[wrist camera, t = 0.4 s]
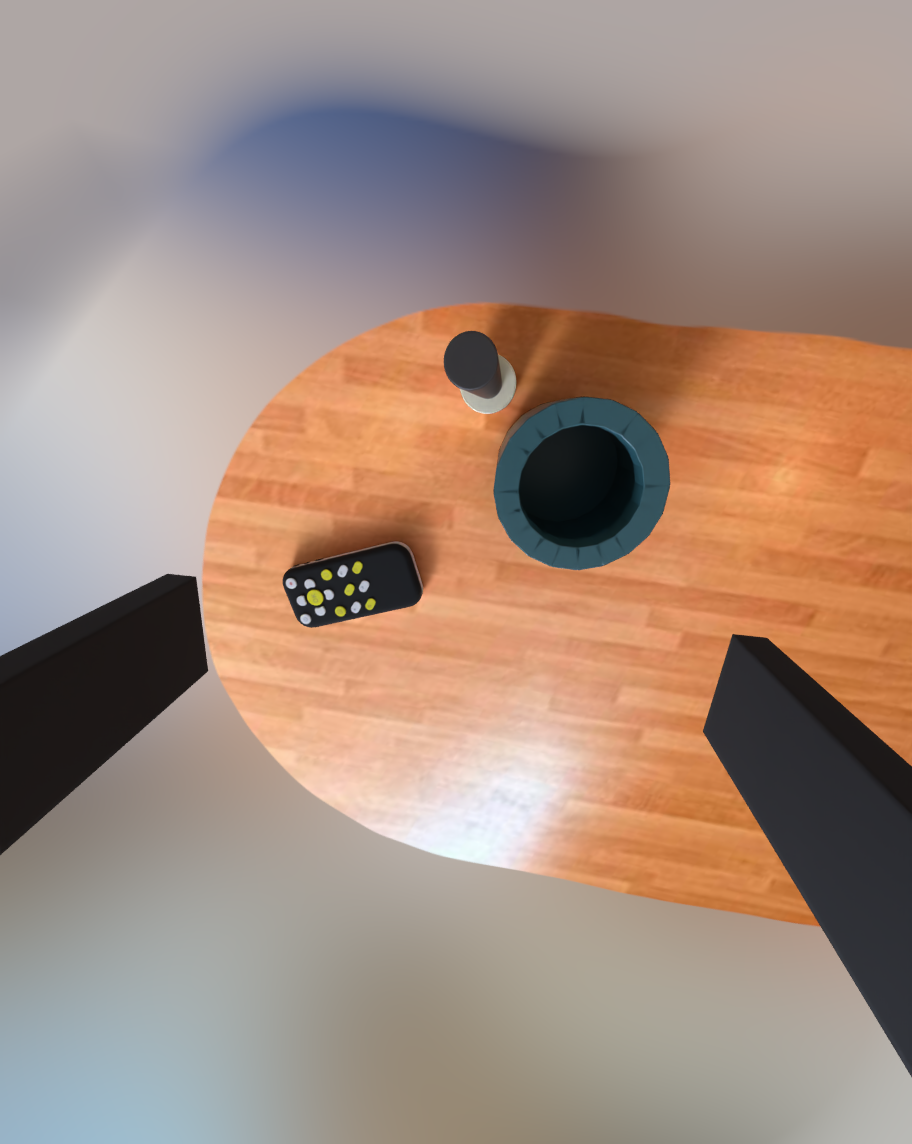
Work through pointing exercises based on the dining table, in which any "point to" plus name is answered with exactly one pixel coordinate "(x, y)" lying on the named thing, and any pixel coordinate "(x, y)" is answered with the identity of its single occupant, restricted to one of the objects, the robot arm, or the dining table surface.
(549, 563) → the jar
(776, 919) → the dining table surface
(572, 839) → the dining table surface
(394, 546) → the remote control
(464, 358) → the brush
